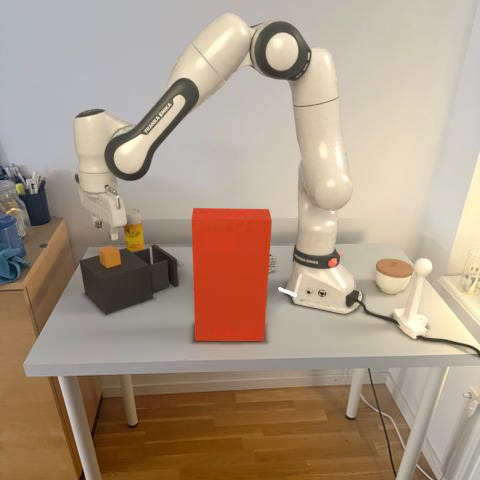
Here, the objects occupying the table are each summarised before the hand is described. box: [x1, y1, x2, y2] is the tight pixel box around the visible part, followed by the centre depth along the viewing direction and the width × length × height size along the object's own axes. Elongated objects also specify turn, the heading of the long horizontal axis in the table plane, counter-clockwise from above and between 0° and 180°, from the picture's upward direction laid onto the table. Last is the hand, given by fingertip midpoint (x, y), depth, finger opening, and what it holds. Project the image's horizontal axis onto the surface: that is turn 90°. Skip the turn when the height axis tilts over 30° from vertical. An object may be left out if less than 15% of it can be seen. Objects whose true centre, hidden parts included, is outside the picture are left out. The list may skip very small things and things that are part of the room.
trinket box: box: [374, 258, 414, 295], centre depth 139 cm, size 11×11×9 cm
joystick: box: [392, 257, 433, 339], centre depth 119 cm, size 11×8×20 cm
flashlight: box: [268, 253, 278, 273], centre depth 153 cm, size 15×5×5 cm, turn 25°
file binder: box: [190, 207, 273, 342], centre depth 111 cm, size 8×17×32 cm, turn 92°
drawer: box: [132, 243, 185, 293], centre depth 137 cm, size 17×13×9 cm
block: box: [97, 244, 121, 268], centre depth 126 cm, size 4×4×4 cm
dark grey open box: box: [78, 247, 153, 315], centre depth 131 cm, size 14×14×11 cm
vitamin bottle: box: [122, 208, 145, 252], centre depth 153 cm, size 6×6×15 cm
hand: (106, 233), depth 122 cm, fingers open, 8 cm apart
